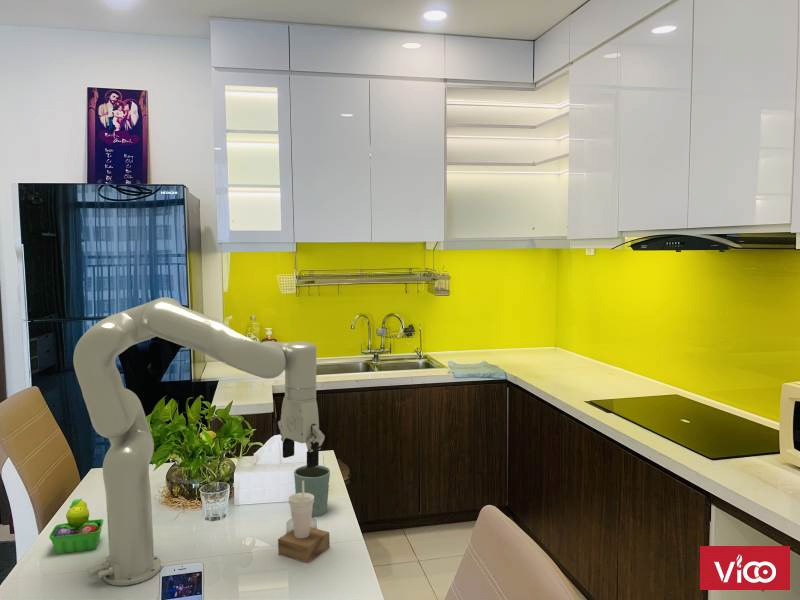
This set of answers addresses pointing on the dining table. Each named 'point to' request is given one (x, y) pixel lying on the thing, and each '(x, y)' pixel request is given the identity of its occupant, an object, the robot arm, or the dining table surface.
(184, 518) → the dining table surface
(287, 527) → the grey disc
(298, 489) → the grey-green hollow tall cylinder
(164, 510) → the dining table surface
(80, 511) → the fruit basket
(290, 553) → the walnut base
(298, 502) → the smoothie
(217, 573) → the dining table surface
